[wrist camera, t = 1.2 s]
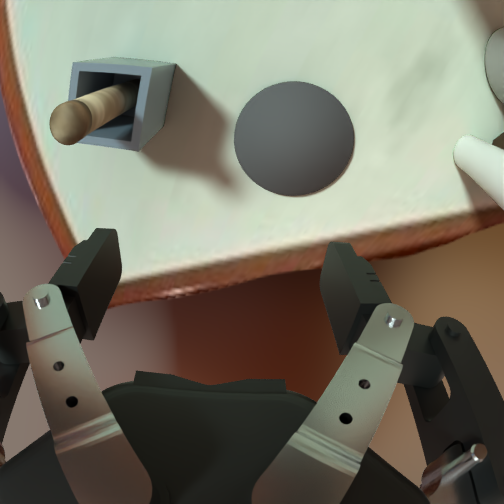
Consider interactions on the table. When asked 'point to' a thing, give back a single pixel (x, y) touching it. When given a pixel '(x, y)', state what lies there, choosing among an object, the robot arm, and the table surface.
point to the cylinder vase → (496, 63)
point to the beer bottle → (499, 141)
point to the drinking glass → (482, 165)
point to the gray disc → (293, 138)
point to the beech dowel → (92, 111)
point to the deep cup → (137, 118)
